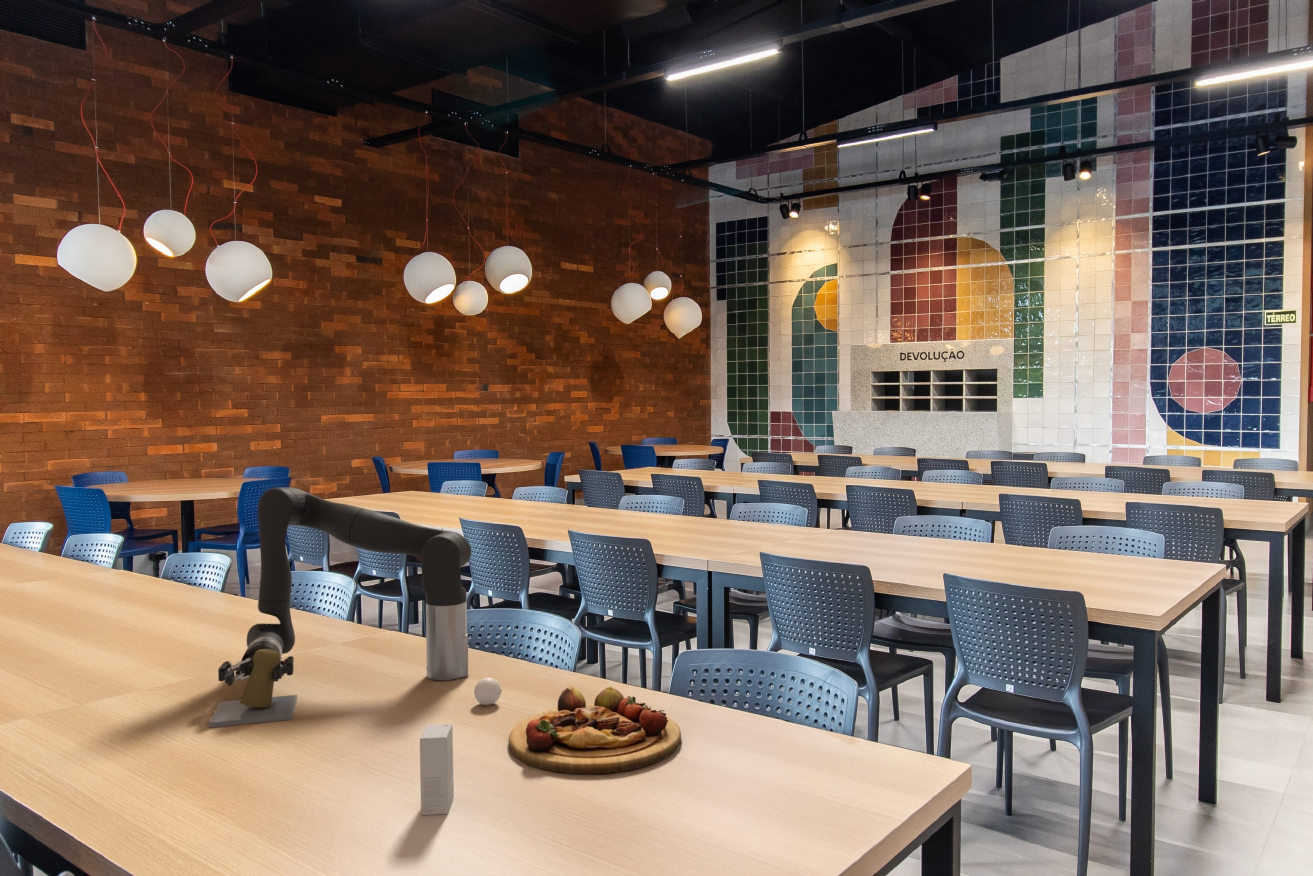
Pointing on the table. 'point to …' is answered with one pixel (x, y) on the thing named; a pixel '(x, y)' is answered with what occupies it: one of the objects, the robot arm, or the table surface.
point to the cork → (261, 679)
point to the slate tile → (253, 712)
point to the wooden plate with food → (595, 735)
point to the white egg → (487, 691)
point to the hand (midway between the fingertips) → (252, 678)
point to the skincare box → (436, 769)
